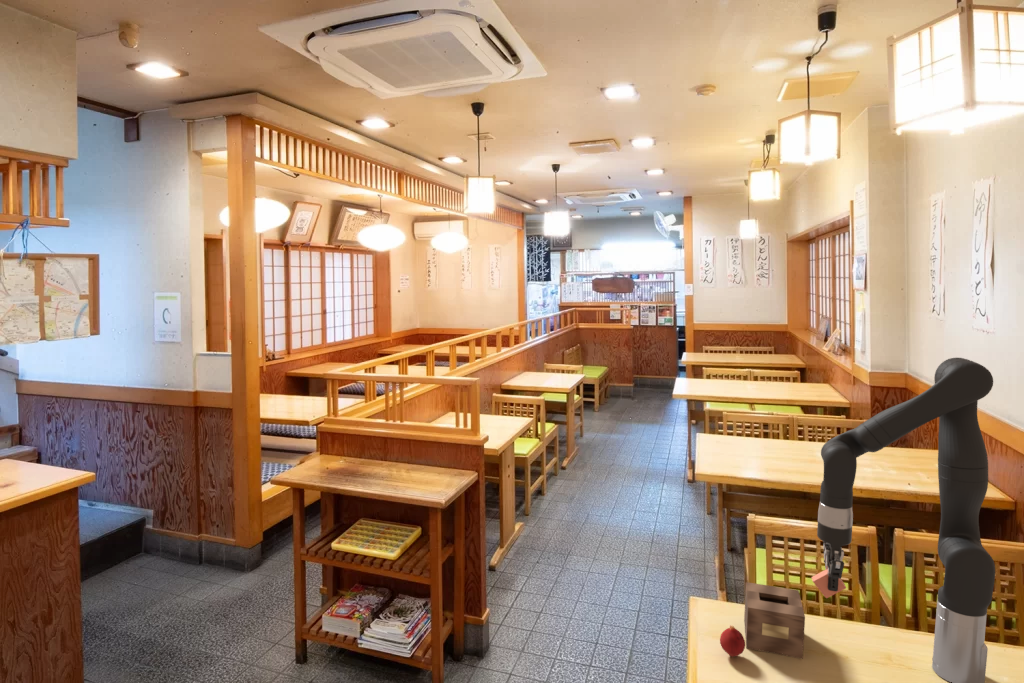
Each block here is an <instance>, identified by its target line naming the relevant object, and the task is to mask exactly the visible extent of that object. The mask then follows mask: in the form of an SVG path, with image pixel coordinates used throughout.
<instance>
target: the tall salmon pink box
mask: <svg viewBox="0 0 1024 683" xmlns="http://www.w3.org/2000/svg"><path fill="white" fill-rule="evenodd" d="M827 572H828V569H826V568H825V569H824V570H822V571H821V572H820V571H819V573H817V574H814V575H813V576H811V580H812V583H813V584H814V585H815V586H816V588H817V589H818V590H819V591H820V593H821V594H822V595H823V597H824V598H826V599H828V598H830V597H832V596H834V595H836V594H838V593H839V592H842V591H843V590H845V589H847V587H846V584H845V582H844V581H843V580H842V578H841V579H840V578H838V591H830V590H828V574H827Z"/></svg>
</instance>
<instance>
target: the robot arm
mask: <svg viewBox="0 0 1024 683" xmlns="http://www.w3.org/2000/svg"><path fill="white" fill-rule="evenodd" d="M933 378H934V380H933V381H934V384H933V385H932V386H930V387H929V388H928V389H927V390H924V391H923V392H921V393H920V394H917V395H916V396H914V397H912V398H911V399H908V400H906V401H904V402H900V403H899V404H896V405H892V406H891V407H888V408H887V409H884V410H882V411H880V412H879V413H876V414H875V415H873V416H872V417H870V418H868V419H867V420H865V421H863V423H860V424H859V425H858V426H856V427H855V428H852V429H849V430H847V431H845V432H843V433H840V434H838V435H836V436H834V437H832V438H830V439H829V440H828V441H826V442H825V443H824V444H823V445H822V447H821V450H820V455H821V456H820V457H821V458H822V461H823V477H822V478H823V480H822V481H821V484H820V497H819V505H818V511H817V530H816V532H817V533H816V535H817V537H818V539H819V540H821V541H822V542H823V559H824V560H823V563H824V564H825V565H824V568H825V570H826V569H828V572H827V574H828V590H830V591H838V578H840V579H841V580H842V576H843V572H844V566H845V562H844V561H843V558H844V556H845V550H844V549H843V546H847V545H849V544H851V543H852V538H853V522H854V519H853V518H854V513H853V512H854V511H853V500H854V497H853V496H854V490H853V487H854V484H855V479H856V474H857V464H858V463H857V458H859V457H861V456H862V455H863V456H864V455H865V454H867V453H877V452H879V451H881V450H883V449H884V448H886V447H887V446H889V445H891V444H893V443H894V442H896V441H897V440H900V439H901V438H902V437H904V436H906V435H908V433H911V432H913V431H914V430H916V429H919V428H920V427H922V426H923V425H925V424H928V423H929V422H931V421H933V420H935V419H937V418H939V420H938V436H937V438H938V440H937V441H938V442H937V443H938V446H937V448H938V449H937V474H938V475H937V476H938V492H939V493H938V494H939V503H940V504H939V505H940V524H939V531H938V532H939V533H938V541H937V555H938V557H939V560H940V562H941V563H942V565H943V566H944V579H943V585H942V586H940V587H939V588H938V592H937V600H936V614H935V624H934V625H935V626H934V635H933V636H934V638H933V651H932V662H931V663H932V664H931V665H932V666H931V667H932V670H933V671H934V673H935V674H937V676H938V677H940V678H942V679H943V680H945V681H947V682H950V683H951V682H952V683H986V672H987V670H986V669H987V662H988V661H987V660H988V650H989V649H988V646H987V644H985V638H986V637H985V636H986V626H987V616H988V614H987V613H988V608H989V606H990V604H991V603H992V600H993V593H994V588H995V586H994V585H995V579H996V566H995V564H996V563H995V562H994V559H993V557H992V556H991V555H990V553H989V552H988V551H987V549H985V547H984V546H983V544H982V541H981V540H982V539H981V533H980V523H979V517H980V516H979V515H980V510H981V507H982V505H983V502H984V500H985V498H986V495H987V491H988V487H989V459H988V452H987V447H986V443H985V441H984V438H983V434H982V430H981V428H980V424H979V419H978V402H979V401H980V400H982V399H984V398H985V397H986V396H988V394H989V393H991V391H992V389H993V386H994V377H993V375H992V373H991V371H990V370H989V369H988V368H987V367H985V366H984V365H983V364H980V363H977V362H976V361H973V360H971V359H968V358H963V357H950V358H948V359H945V360H944V361H942V362H941V363H940V364H939V365H938V366H937V368H936V369H935V373H934V377H933Z"/></svg>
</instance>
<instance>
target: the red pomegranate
mask: <svg viewBox="0 0 1024 683" xmlns="http://www.w3.org/2000/svg"><path fill="white" fill-rule="evenodd" d="M719 644H720V646H721V649H722V650H723V651H724V652H725V653H726V654H727V655H728V656H729V657H731V658H733V657H738V656H740V655H741V654H743V652H744V650H745V648H746V639H745V638H744V636H743V634H742V632H741V631H739V630H738V629H737V628H736V627H735V626H734V625H729V627H728V628H725V630H723V631H722V633H721V634H720V638H719Z"/></svg>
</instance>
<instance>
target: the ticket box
mask: <svg viewBox="0 0 1024 683" xmlns="http://www.w3.org/2000/svg"><path fill="white" fill-rule="evenodd" d="M743 617H744V619H743V622H744V635H745V648H746V649H750V650H754V651H760V652H765V653H771V654H776V655H781V656H786V657H791V658H796V659H801V660H802V659H803V658H804V646H805V645H804V642H805V624H806V622H805V621H806V616H805V612H804V606H803V603H802V599H801V595H800V592H799V590H798V589H792V588H786V587H779V586H773V585H766V584H761V583H753V582H748V581H746V582H745V592H744V616H743Z"/></svg>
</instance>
